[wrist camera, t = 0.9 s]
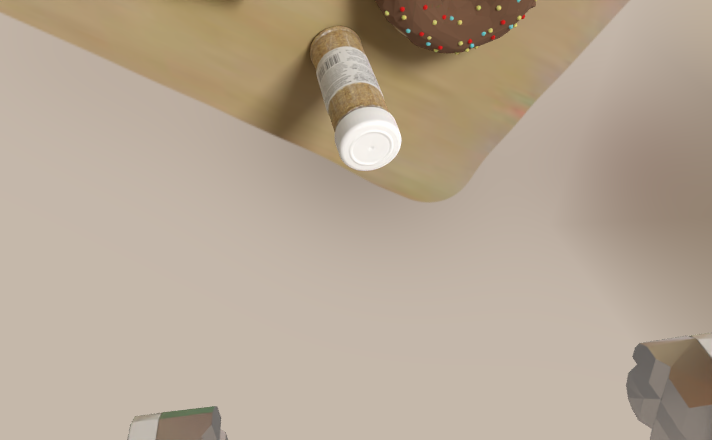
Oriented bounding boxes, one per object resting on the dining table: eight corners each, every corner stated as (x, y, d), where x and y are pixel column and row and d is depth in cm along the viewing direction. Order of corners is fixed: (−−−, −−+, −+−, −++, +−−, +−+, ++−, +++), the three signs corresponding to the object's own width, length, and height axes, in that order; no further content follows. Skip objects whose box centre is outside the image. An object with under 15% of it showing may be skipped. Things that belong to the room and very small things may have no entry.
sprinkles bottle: (327, 80, 56) (359, 183, 47) (298, 43, 53) (326, 145, 44) (371, 52, 55) (413, 151, 46) (344, 12, 51) (384, 111, 42)
